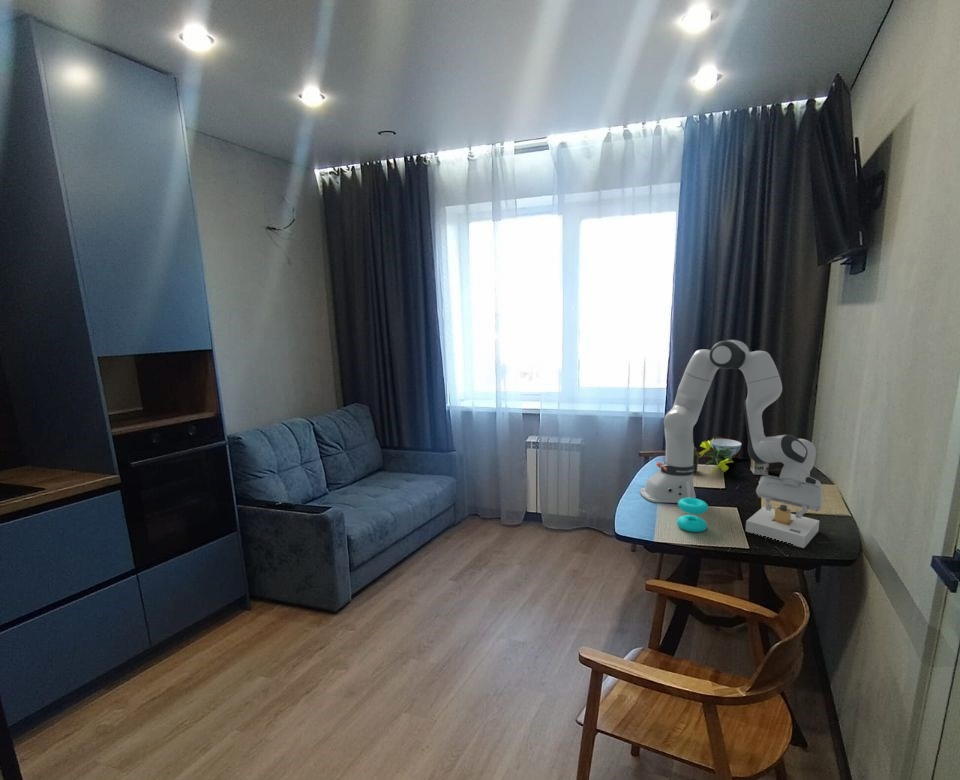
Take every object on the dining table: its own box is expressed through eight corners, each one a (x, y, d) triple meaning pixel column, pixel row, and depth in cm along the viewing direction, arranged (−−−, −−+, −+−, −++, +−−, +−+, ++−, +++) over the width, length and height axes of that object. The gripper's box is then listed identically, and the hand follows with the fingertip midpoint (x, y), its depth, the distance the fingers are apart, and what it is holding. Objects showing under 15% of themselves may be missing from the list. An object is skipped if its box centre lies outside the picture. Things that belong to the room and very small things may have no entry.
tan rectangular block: (773, 531, 174) (775, 506, 173) (776, 527, 177) (778, 502, 176) (786, 534, 172) (788, 509, 170) (789, 531, 174) (791, 505, 173)
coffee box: (768, 475, 232) (771, 442, 229) (753, 474, 234) (755, 442, 231) (764, 470, 240) (766, 438, 238) (749, 468, 242) (752, 437, 240)
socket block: (745, 531, 175) (746, 519, 174) (762, 516, 187) (763, 505, 186) (803, 548, 162) (805, 536, 161) (818, 531, 174) (819, 519, 173)
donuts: (705, 509, 170) (675, 503, 176) (703, 536, 172) (674, 529, 178) (710, 499, 178) (681, 494, 184) (709, 525, 180) (680, 519, 186)
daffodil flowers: (749, 466, 249) (735, 465, 222) (720, 476, 256) (703, 476, 229) (733, 436, 256) (717, 431, 228) (706, 447, 263) (687, 443, 236)
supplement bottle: (692, 474, 236) (693, 450, 234) (679, 471, 241) (680, 447, 239) (700, 471, 239) (701, 448, 238) (687, 468, 245) (688, 445, 243)
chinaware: (744, 455, 264) (745, 441, 263) (735, 462, 253) (736, 447, 252) (715, 450, 274) (715, 437, 273) (705, 456, 264) (706, 442, 262)
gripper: (760, 469, 183) (749, 501, 178) (825, 482, 169) (815, 517, 164) (763, 478, 187) (752, 509, 182) (827, 491, 172) (817, 526, 167)
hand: (782, 513), depth 173 cm, fingers open, 8 cm apart
